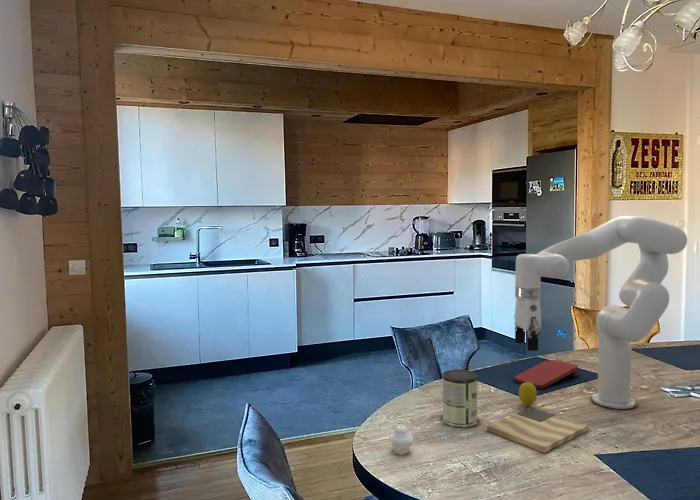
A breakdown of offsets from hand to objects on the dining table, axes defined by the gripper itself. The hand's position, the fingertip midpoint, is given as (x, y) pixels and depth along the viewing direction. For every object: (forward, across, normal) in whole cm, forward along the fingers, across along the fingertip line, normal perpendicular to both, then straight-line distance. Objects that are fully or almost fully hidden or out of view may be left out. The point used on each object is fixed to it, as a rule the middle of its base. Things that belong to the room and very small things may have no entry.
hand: (526, 346), depth 169 cm
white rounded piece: (+20, -29, +45) cm, 57 cm away
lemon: (+20, 0, -1) cm, 20 cm away
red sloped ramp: (+19, +26, -20) cm, 38 cm away
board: (+19, -19, +4) cm, 28 cm away
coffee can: (+20, -10, +24) cm, 32 cm away
